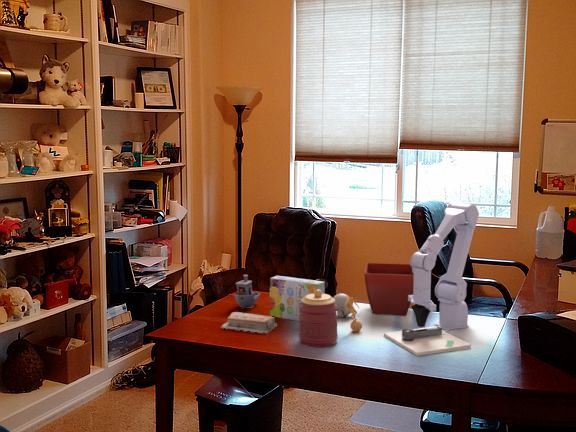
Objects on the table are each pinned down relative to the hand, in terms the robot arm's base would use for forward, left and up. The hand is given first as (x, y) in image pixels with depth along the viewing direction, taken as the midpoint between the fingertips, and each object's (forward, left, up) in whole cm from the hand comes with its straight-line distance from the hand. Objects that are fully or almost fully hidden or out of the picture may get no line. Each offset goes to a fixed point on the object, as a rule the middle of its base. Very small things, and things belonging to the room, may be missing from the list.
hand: (421, 326), depth 221 cm
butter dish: (+52, -30, -4) cm, 60 cm away
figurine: (+19, -12, -3) cm, 23 cm away
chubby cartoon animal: (+17, -32, -3) cm, 36 cm away
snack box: (+32, -33, -3) cm, 47 cm away
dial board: (+2, +7, -3) cm, 8 cm away
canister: (+35, -6, -3) cm, 36 cm away
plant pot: (-5, -29, -3) cm, 30 cm away
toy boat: (+45, -55, -3) cm, 72 cm away
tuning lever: (+3, +6, -2) cm, 7 cm away
